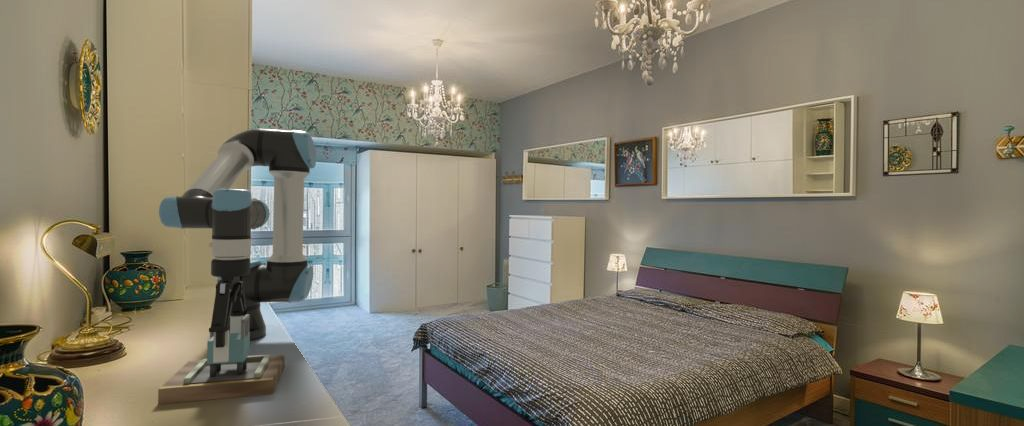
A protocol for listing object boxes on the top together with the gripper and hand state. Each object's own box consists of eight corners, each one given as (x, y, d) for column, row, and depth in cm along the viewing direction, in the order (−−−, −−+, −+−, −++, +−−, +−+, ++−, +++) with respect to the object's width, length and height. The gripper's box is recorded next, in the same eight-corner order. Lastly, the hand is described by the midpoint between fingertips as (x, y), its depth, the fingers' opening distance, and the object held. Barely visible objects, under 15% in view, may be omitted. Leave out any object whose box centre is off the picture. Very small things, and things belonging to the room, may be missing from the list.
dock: (188, 373, 113) (188, 356, 113) (284, 366, 119) (284, 350, 119) (158, 404, 96) (158, 383, 96) (272, 393, 102) (272, 374, 102)
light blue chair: (214, 369, 108) (215, 315, 107) (249, 366, 110) (250, 313, 110) (206, 378, 102) (207, 321, 102) (243, 375, 104) (244, 319, 104)
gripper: (226, 252, 116) (224, 338, 116) (193, 264, 93) (191, 372, 93) (260, 252, 119) (258, 336, 119) (236, 264, 95) (234, 369, 95)
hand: (229, 352), depth 106 cm, fingers open, 13 cm apart
